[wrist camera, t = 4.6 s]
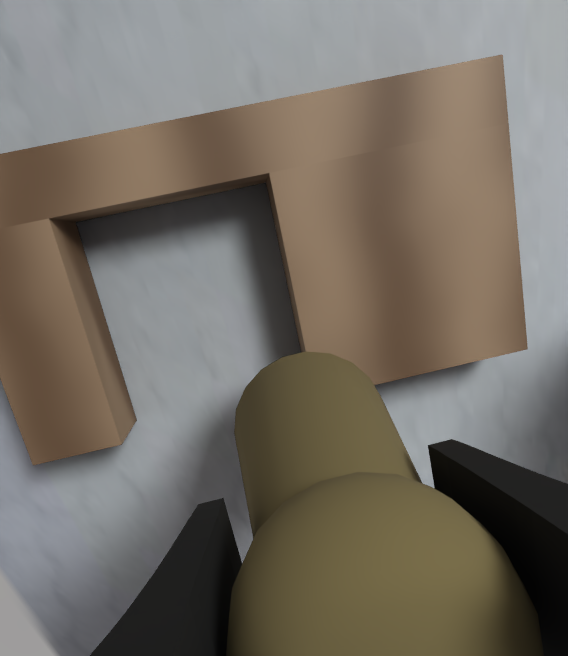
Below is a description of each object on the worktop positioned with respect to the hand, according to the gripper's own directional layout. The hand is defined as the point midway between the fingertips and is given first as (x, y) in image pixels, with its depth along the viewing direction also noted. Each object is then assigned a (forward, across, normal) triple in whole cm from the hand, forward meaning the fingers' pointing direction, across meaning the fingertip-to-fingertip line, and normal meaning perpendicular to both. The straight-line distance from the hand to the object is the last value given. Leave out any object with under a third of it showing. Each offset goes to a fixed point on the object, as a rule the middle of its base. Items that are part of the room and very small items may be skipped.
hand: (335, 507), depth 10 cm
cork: (+6, 0, +1) cm, 7 cm away
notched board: (+10, 0, -6) cm, 12 cm away
